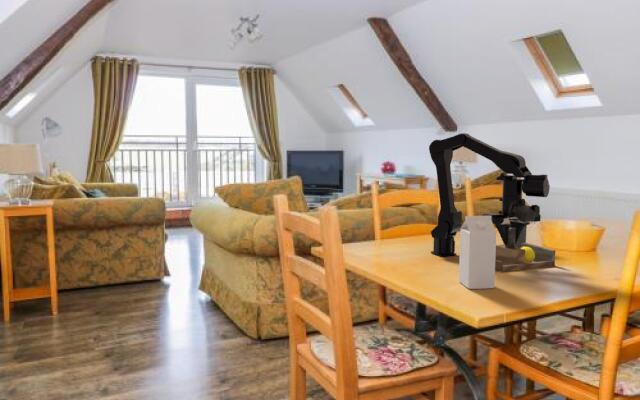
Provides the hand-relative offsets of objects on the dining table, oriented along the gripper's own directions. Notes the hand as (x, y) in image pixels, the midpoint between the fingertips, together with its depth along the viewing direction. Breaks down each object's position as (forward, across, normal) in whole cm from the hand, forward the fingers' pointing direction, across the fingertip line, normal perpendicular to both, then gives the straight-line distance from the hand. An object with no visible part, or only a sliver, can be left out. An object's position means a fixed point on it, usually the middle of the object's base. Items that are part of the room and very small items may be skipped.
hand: (509, 244), depth 159 cm
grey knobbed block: (+6, 0, 0) cm, 6 cm away
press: (+6, +2, 0) cm, 7 cm away
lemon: (+7, +7, 0) cm, 9 cm away
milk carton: (+7, -25, -16) cm, 30 cm away
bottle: (+7, +19, +18) cm, 27 cm away
